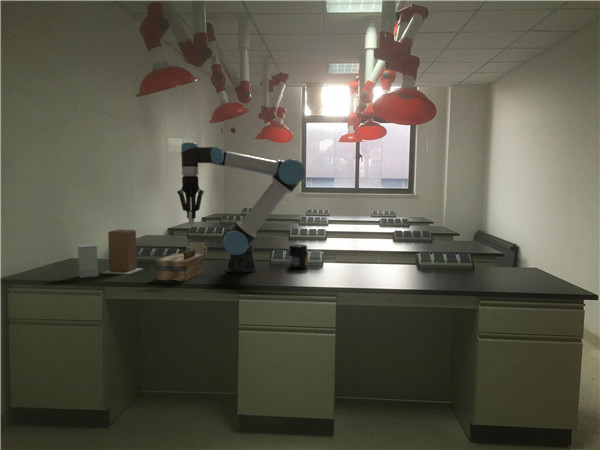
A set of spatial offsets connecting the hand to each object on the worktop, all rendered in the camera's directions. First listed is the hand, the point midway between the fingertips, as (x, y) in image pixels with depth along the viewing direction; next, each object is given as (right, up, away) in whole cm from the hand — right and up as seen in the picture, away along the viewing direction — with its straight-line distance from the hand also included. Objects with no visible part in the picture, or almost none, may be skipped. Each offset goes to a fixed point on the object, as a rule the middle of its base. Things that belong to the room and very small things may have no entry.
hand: (191, 225), depth 219 cm
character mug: (-2, -22, +22) cm, 31 cm away
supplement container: (+51, -23, +24) cm, 60 cm away
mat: (-37, -23, +10) cm, 44 cm away
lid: (-5, -16, -2) cm, 17 cm away
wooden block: (-37, -23, +10) cm, 44 cm away
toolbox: (-5, -24, -1) cm, 25 cm away
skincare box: (-48, -24, -3) cm, 54 cm away
